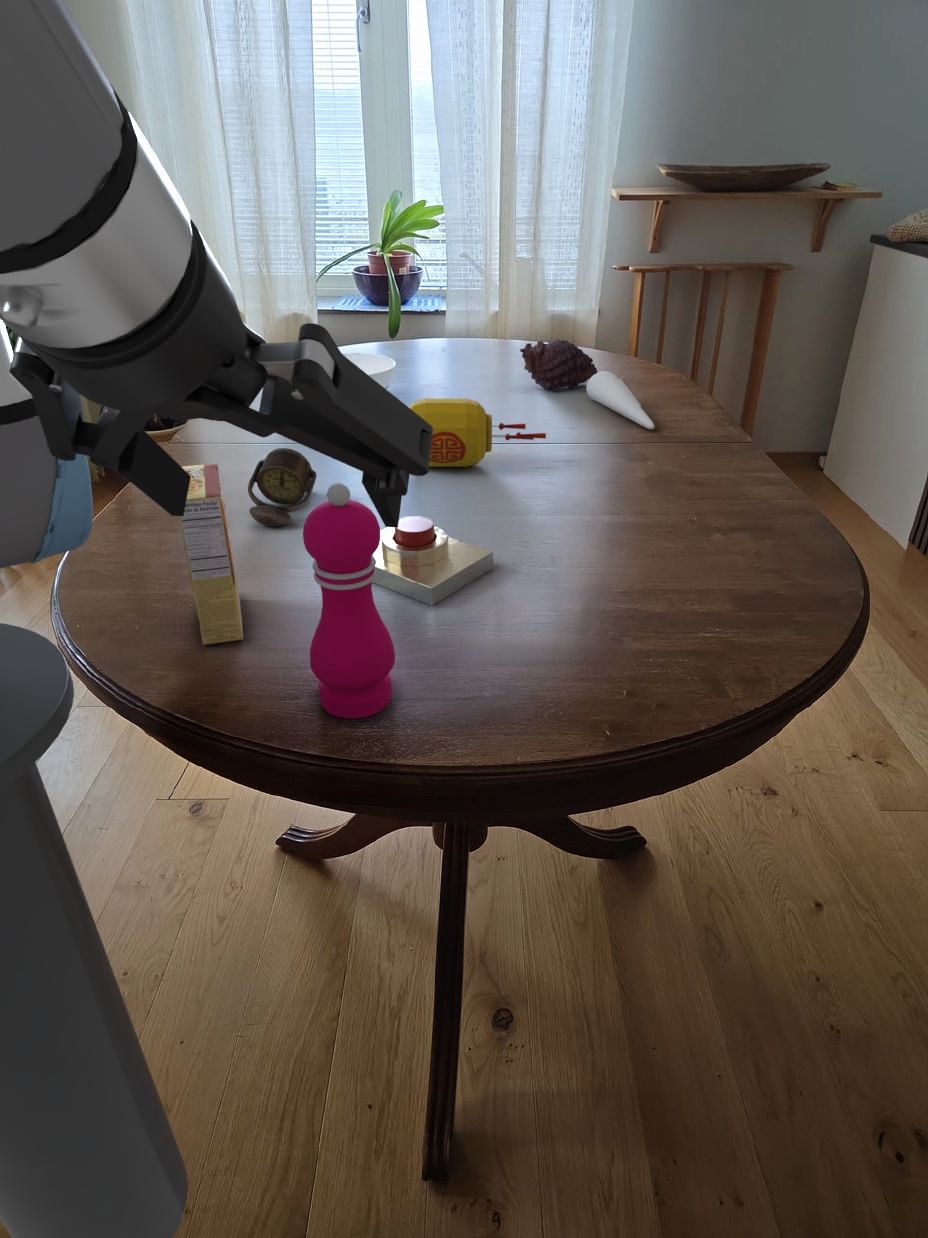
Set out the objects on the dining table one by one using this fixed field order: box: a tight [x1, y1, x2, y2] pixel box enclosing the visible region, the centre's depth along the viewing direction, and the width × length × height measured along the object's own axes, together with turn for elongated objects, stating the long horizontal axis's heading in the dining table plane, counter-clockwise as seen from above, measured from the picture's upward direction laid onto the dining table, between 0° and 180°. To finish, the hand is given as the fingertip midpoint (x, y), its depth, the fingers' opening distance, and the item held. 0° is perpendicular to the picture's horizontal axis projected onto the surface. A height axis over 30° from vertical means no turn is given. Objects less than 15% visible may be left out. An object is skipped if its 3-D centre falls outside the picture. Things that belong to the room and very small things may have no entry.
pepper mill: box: [302, 482, 396, 720], centre depth 64 cm, size 7×7×20 cm
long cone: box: [585, 370, 656, 431], centre depth 141 cm, size 6×6×19 cm
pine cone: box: [519, 339, 598, 391], centre depth 157 cm, size 18×10×10 cm
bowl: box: [341, 352, 397, 390], centre depth 151 cm, size 20×20×6 cm
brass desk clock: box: [247, 447, 318, 527], centre depth 104 cm, size 7×13×10 cm
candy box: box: [178, 463, 244, 646], centre depth 77 cm, size 9×4×15 cm, turn 17°
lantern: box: [408, 398, 547, 468], centre depth 118 cm, size 10×10×30 cm
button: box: [395, 515, 435, 547], centre depth 88 cm, size 4×4×2 cm
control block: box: [372, 525, 494, 607], centre depth 90 cm, size 14×11×4 cm
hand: (286, 501), depth 48 cm, fingers open, 13 cm apart
